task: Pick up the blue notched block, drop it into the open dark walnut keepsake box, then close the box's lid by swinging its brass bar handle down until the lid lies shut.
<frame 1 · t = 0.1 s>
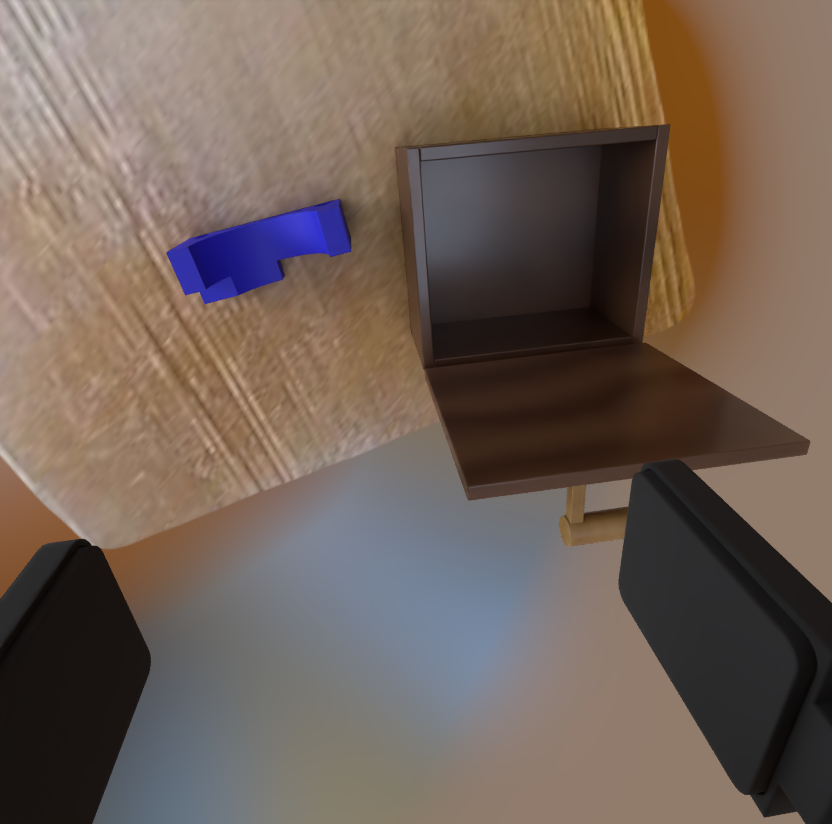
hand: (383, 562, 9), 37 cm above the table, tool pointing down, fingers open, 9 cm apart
keepsake box: (503, 237, 43), on the table
lid: (575, 436, 32), point 17 cm above the table, hinge at 88.0°
blue notched block: (275, 247, 42), on the table
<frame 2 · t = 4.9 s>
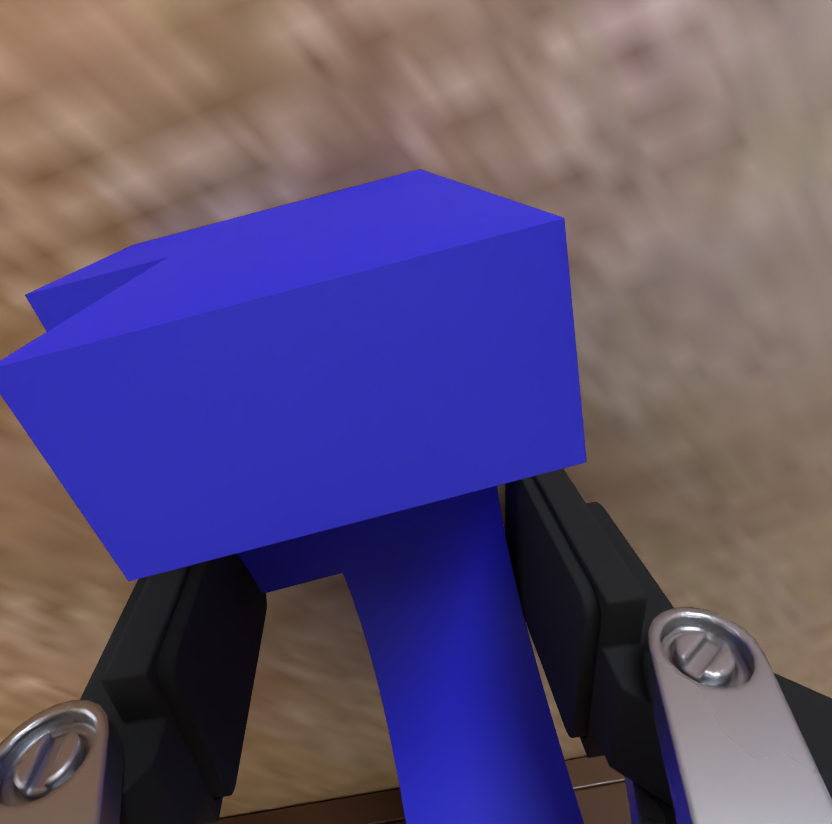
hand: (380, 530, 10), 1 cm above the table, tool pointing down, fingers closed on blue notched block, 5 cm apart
blue notched block: (378, 504, 11), on the table, touching gripper
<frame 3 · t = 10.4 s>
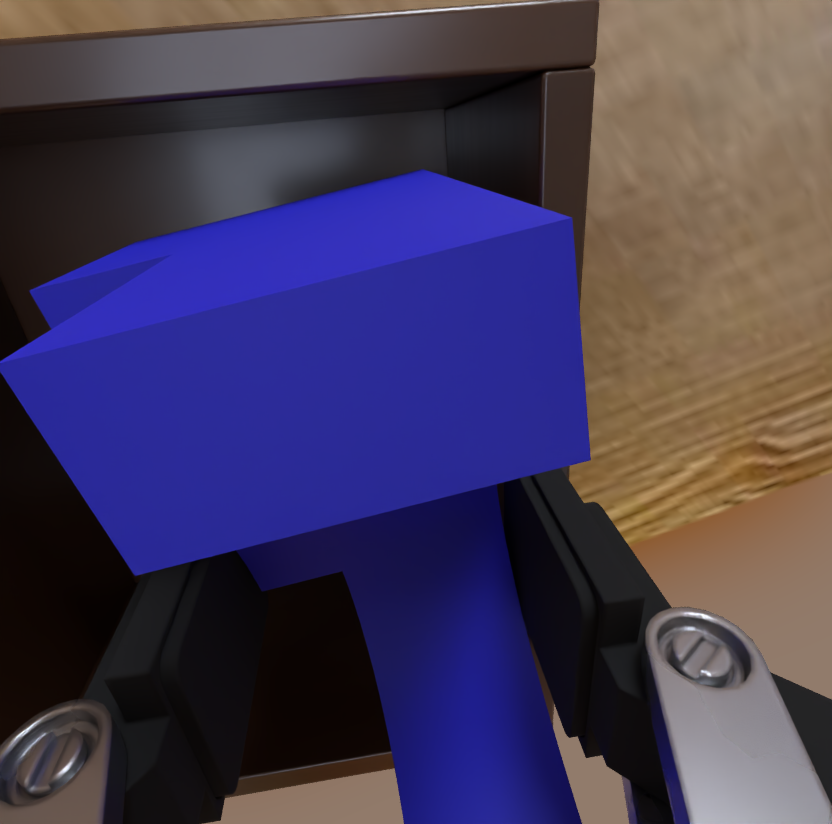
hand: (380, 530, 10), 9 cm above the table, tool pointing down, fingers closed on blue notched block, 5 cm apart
keepsake box: (266, 377, 18), on the table
blue notched block: (378, 503, 11), point 8 cm above the table, touching gripper
when the fingers open (9 cm above the table, at t = 12.6 s): blue notched block drops 8 cm, resting on keepsake box.
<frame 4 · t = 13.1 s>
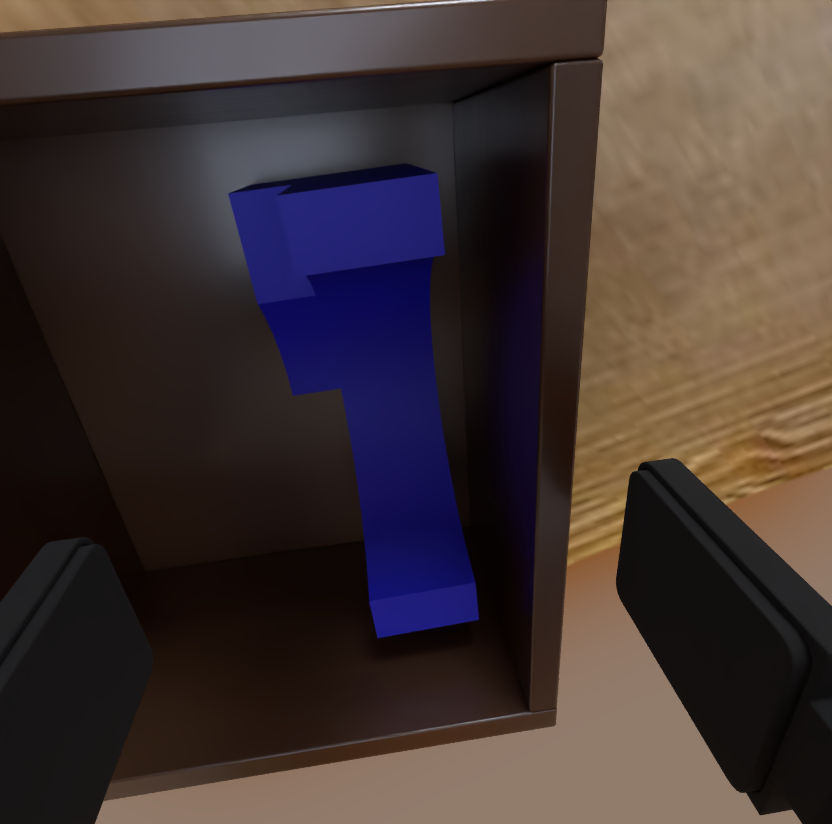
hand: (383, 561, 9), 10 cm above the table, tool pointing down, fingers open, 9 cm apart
keepsake box: (274, 368, 18), on the table
blue notched block: (363, 364, 18), point 1 cm above the table, touching keepsake box
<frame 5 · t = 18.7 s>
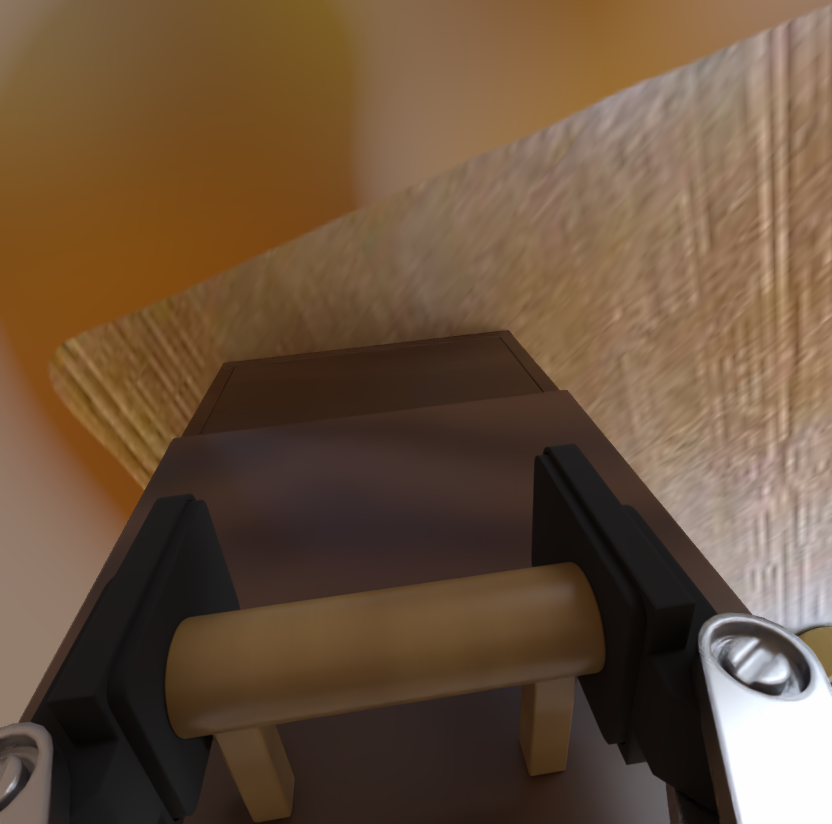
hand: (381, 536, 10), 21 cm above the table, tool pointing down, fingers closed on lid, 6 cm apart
keepsake box: (382, 452, 34), on the table
lid: (380, 489, 14), point 17 cm above the table, hinge at 88.0°, touching gripper
paper tube: (809, 646, 49), on the table
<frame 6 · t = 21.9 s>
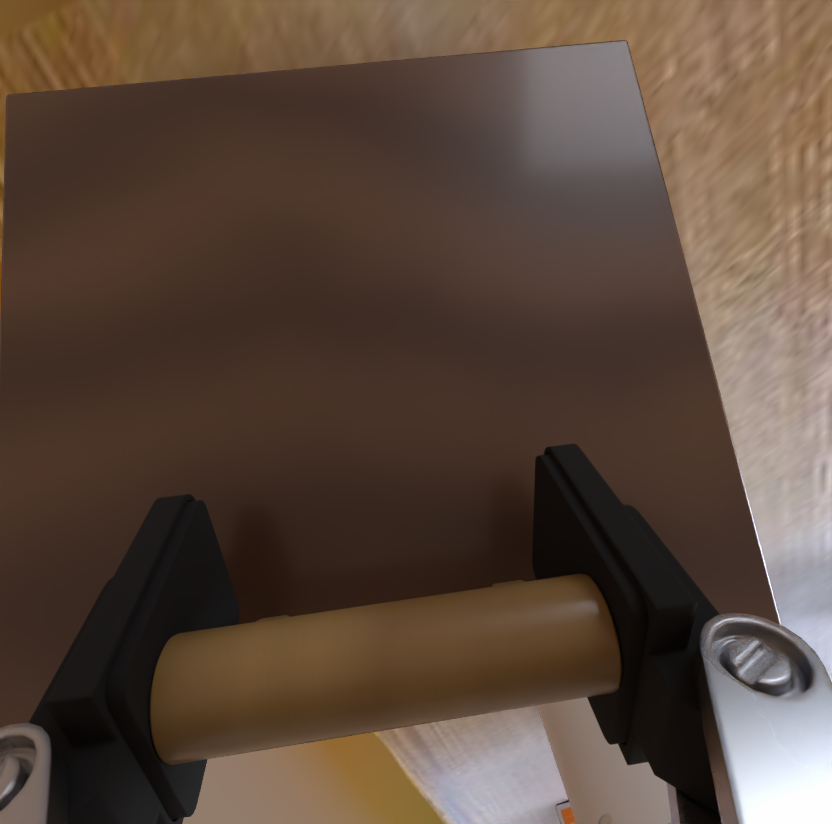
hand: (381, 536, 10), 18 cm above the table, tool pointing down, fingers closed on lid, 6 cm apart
lid: (353, 305, 10), point 16 cm above the table, hinge at 38.8°, touching gripper
cosmetic box: (586, 802, 51), on the table
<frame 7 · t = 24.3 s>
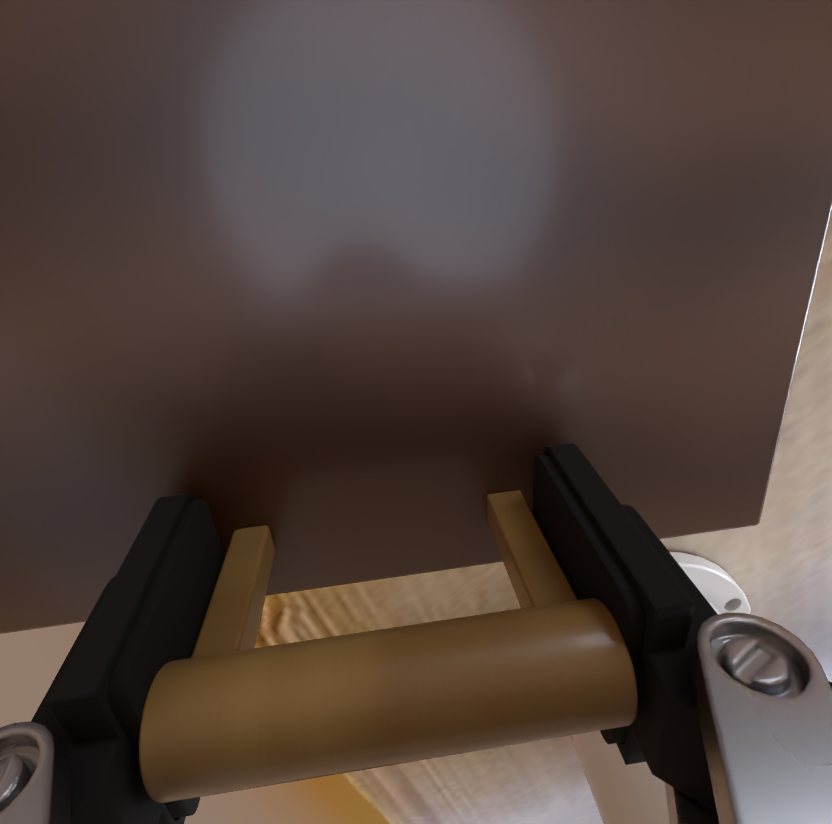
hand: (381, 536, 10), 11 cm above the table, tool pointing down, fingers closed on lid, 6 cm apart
lid: (327, 184, 6), point 12 cm above the table, hinge at 2.5°, touching gripper
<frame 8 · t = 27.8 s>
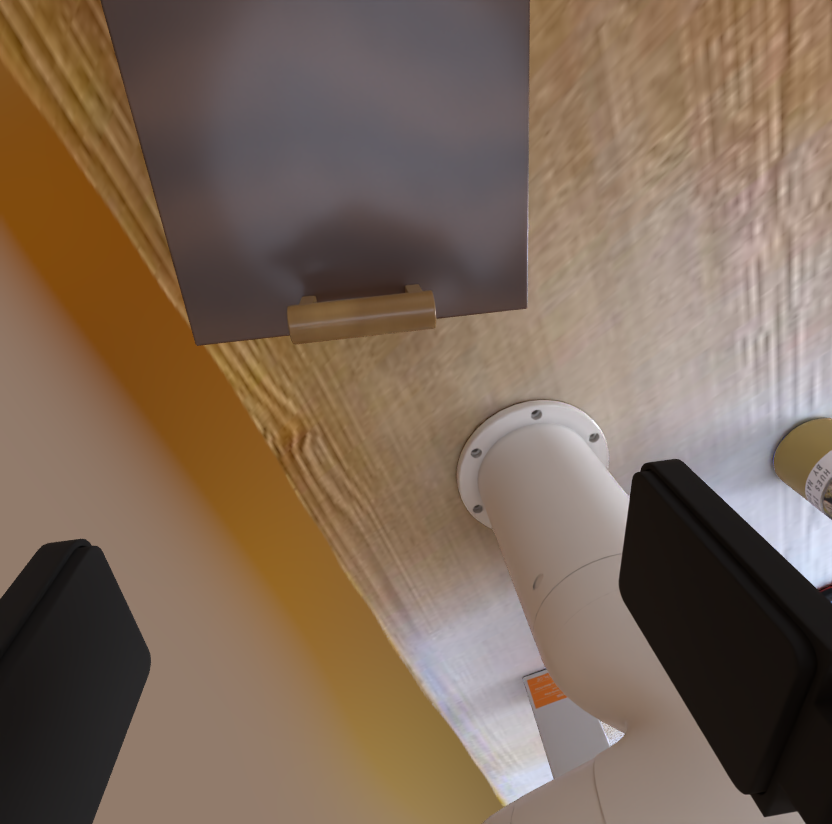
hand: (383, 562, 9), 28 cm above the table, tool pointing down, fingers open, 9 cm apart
lid: (342, 153, 21), point 12 cm above the table, hinge at 2.2°
paper tube: (804, 447, 46), on the table
cosmetic box: (551, 676, 57), on the table
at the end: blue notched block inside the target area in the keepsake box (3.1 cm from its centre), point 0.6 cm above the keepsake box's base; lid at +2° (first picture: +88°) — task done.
